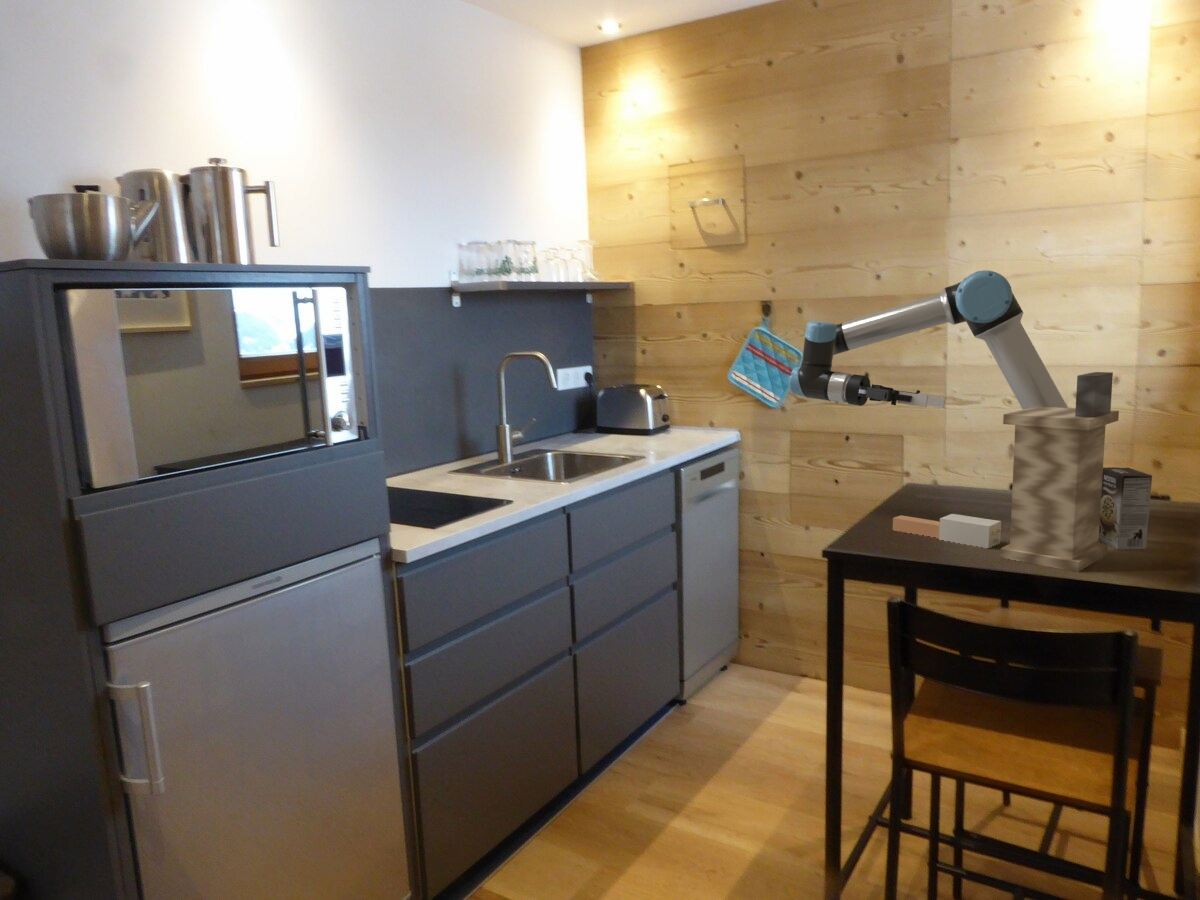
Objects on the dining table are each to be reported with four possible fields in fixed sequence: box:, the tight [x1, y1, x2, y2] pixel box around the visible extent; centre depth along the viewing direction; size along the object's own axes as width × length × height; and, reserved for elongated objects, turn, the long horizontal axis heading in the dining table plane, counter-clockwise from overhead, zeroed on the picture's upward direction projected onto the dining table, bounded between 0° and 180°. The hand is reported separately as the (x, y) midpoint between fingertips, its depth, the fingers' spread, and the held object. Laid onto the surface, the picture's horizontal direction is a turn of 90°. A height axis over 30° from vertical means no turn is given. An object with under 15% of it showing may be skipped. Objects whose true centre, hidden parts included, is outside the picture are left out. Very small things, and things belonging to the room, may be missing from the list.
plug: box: [892, 513, 1003, 549], centre depth 198 cm, size 24×6×5 cm, turn 43°
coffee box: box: [1099, 466, 1153, 551], centre depth 187 cm, size 9×6×16 cm
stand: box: [999, 371, 1120, 573], centre depth 178 cm, size 16×17×38 cm
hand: (936, 402), depth 205 cm, fingers open, 13 cm apart
